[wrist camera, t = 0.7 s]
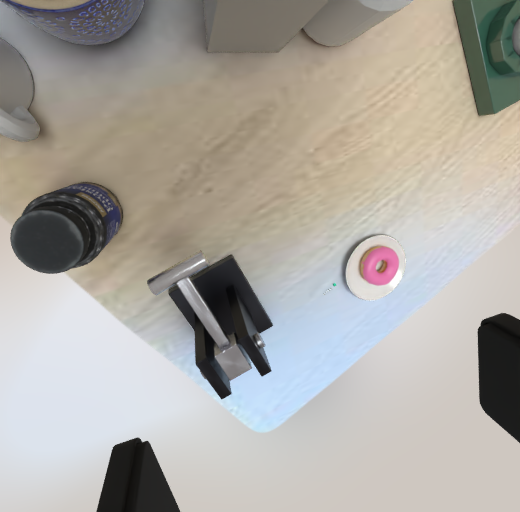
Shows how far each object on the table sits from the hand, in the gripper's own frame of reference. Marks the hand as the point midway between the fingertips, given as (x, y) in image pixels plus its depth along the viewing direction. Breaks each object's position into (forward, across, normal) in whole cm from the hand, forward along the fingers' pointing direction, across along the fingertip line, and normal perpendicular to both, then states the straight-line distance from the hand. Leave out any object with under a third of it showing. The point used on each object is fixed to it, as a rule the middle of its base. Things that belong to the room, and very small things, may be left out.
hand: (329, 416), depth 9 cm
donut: (+30, -15, +11) cm, 35 cm away
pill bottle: (+30, +12, -4) cm, 32 cm away
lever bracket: (+30, +3, +10) cm, 31 cm away
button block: (+29, -33, -10) cm, 45 cm away
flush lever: (+21, +4, +6) cm, 22 cm away
